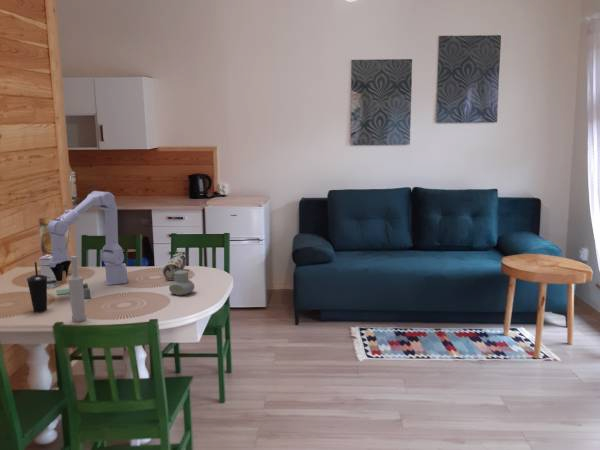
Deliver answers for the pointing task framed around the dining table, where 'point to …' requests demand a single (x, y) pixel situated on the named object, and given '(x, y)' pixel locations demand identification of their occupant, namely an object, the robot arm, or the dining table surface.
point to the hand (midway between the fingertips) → (61, 279)
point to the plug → (59, 281)
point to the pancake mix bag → (48, 236)
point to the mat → (63, 291)
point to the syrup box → (47, 270)
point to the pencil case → (174, 265)
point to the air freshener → (181, 283)
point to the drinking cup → (38, 291)
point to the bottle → (76, 293)
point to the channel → (86, 291)
